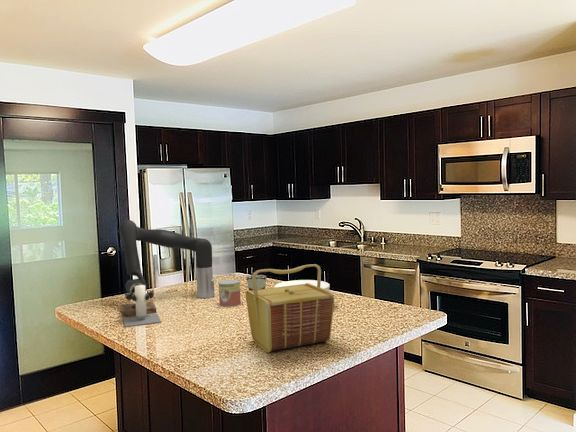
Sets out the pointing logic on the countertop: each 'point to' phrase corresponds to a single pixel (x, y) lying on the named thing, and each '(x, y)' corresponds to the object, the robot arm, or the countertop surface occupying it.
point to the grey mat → (141, 320)
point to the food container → (259, 282)
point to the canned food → (229, 293)
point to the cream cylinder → (140, 300)
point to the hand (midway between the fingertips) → (141, 298)
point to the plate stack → (297, 282)
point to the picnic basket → (289, 313)
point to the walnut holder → (131, 309)
